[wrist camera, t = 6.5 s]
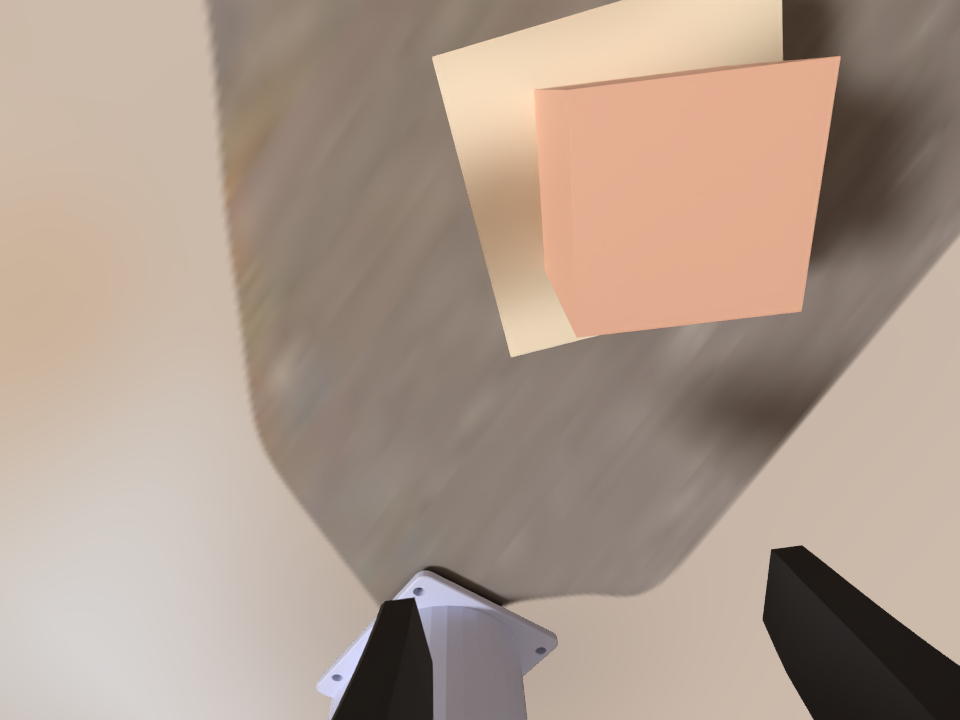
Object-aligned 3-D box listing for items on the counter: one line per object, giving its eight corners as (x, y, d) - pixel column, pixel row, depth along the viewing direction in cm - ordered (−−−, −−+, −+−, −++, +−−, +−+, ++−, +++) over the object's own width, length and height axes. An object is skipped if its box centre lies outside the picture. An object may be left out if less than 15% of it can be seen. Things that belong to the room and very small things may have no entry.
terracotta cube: (709, 252, 15) (801, 310, 11) (545, 271, 15) (576, 337, 11) (723, 66, 13) (840, 55, 9) (533, 89, 13) (567, 90, 9)
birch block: (724, 250, 19) (786, 288, 16) (501, 308, 20) (510, 357, 16) (707, -17, 16) (781, -48, 12) (437, 64, 16) (431, 57, 13)
